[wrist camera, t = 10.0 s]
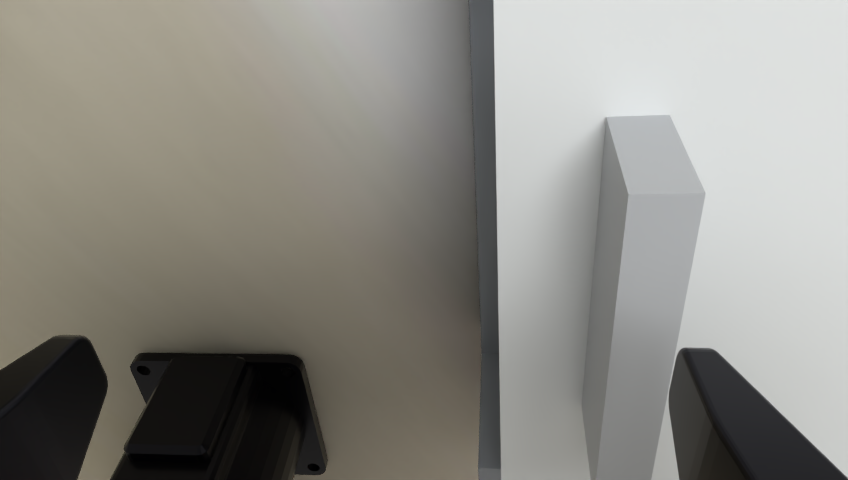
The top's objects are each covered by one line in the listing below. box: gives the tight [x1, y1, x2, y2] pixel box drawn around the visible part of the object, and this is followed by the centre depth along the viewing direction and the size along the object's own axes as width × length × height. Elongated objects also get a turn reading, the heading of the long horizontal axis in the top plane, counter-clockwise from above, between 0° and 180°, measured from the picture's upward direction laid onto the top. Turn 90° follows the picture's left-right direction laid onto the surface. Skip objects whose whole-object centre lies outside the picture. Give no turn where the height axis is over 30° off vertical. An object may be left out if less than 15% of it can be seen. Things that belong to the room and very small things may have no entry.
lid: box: [493, 0, 848, 480], centre depth 12 cm, size 13×12×3 cm
